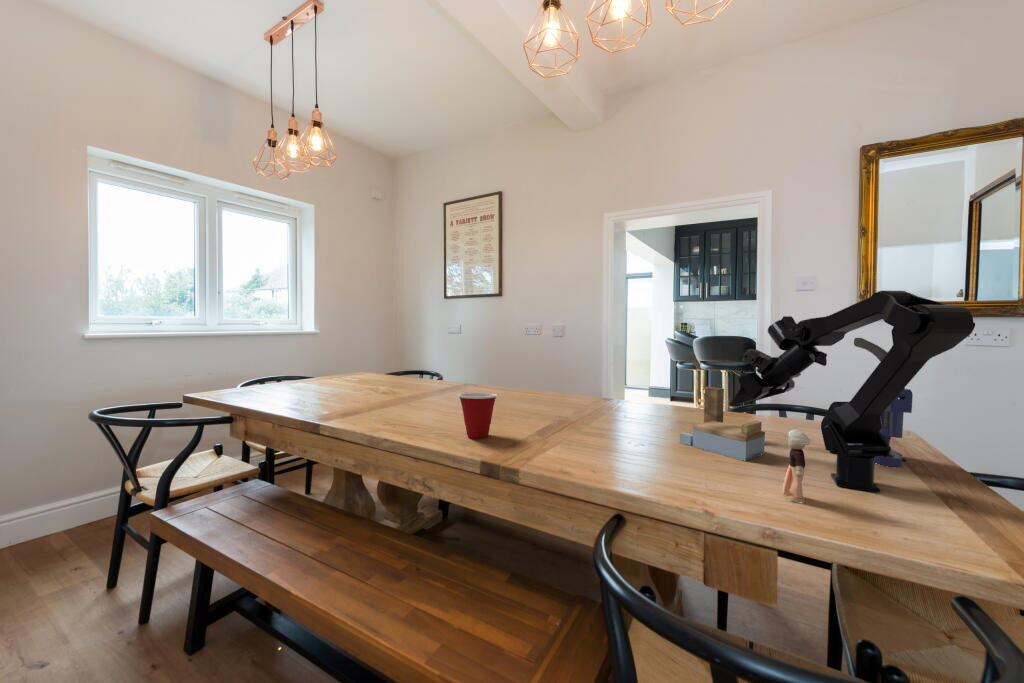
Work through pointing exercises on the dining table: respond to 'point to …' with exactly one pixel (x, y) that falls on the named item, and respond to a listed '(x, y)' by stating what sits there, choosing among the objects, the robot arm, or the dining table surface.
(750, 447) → the grey storage box
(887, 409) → the hand press
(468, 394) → the plastic cup
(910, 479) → the dining table surface
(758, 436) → the lid
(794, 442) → the grandmother figurine
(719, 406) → the brown wooden block
